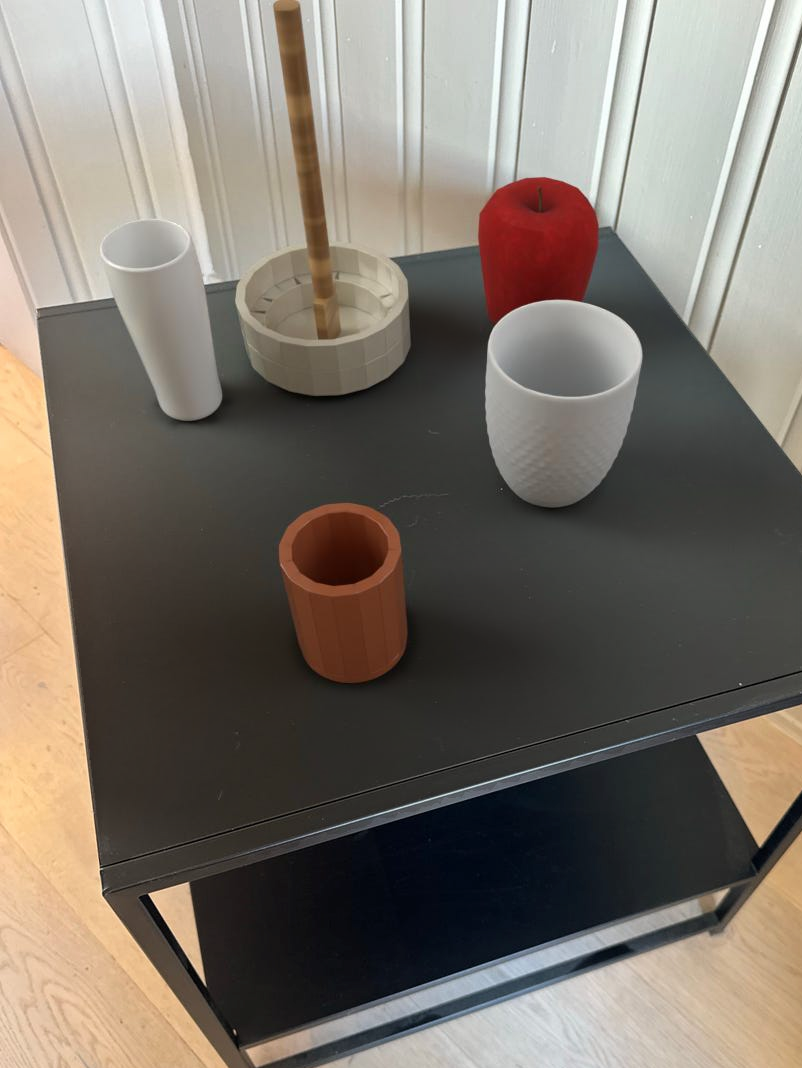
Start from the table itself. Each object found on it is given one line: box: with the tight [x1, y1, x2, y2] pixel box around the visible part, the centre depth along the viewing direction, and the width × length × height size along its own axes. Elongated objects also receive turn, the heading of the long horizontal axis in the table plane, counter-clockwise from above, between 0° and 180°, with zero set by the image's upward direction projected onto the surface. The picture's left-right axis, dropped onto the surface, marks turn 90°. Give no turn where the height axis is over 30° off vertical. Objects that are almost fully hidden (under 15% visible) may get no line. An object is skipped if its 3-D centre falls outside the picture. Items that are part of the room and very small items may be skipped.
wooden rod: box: [272, 0, 341, 340], centre depth 74 cm, size 3×2×27 cm, turn 166°
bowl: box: [234, 240, 412, 397], centre depth 83 cm, size 15×15×6 cm
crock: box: [278, 502, 409, 684], centre depth 64 cm, size 8×8×10 cm
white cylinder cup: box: [99, 218, 223, 422], centre depth 75 cm, size 7×7×15 cm
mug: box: [484, 300, 643, 508], centre depth 73 cm, size 15×11×13 cm
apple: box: [477, 176, 600, 326], centre depth 83 cm, size 11×10×14 cm
